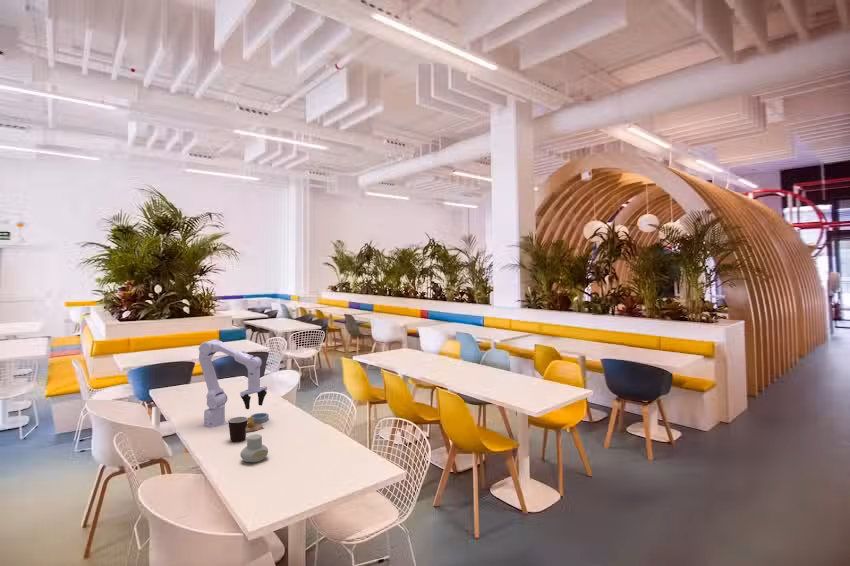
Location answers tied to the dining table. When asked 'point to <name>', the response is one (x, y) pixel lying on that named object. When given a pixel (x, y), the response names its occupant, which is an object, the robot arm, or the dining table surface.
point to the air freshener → (254, 449)
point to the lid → (253, 425)
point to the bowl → (260, 417)
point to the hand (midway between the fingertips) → (254, 407)
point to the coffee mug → (238, 428)
